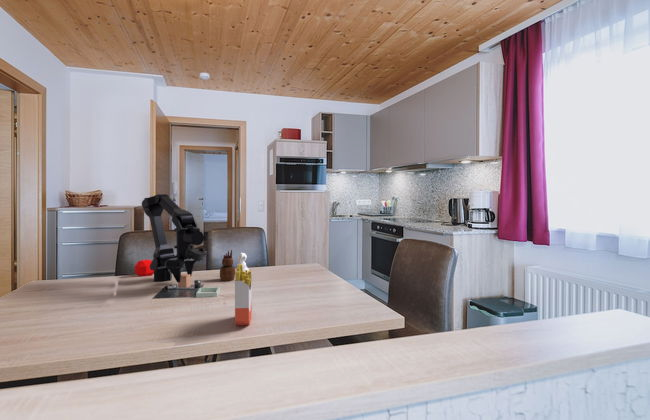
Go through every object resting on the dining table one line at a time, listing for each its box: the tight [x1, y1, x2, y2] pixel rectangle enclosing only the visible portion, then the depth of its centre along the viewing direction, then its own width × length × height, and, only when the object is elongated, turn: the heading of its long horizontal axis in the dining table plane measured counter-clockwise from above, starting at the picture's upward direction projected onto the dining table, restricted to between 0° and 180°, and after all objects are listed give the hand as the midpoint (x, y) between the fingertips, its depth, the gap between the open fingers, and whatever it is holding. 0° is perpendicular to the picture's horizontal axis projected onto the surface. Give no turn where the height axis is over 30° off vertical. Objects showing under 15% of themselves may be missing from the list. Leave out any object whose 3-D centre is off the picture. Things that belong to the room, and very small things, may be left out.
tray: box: [195, 286, 221, 298], centre depth 135 cm, size 8×8×2 cm
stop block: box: [177, 273, 192, 287], centre depth 144 cm, size 4×4×5 cm
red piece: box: [134, 258, 154, 278], centre depth 165 cm, size 8×8×8 cm
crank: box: [167, 279, 202, 290], centre depth 141 cm, size 14×4×4 cm, turn 83°
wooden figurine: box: [219, 249, 236, 282], centre depth 156 cm, size 7×6×15 cm
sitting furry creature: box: [235, 252, 250, 278], centre depth 166 cm, size 10×9×12 cm
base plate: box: [151, 284, 205, 300], centre depth 139 cm, size 16×18×1 cm
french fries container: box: [234, 263, 253, 326], centre depth 109 cm, size 5×11×18 cm, turn 7°
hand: (184, 279), depth 144 cm, fingers open, 9 cm apart
